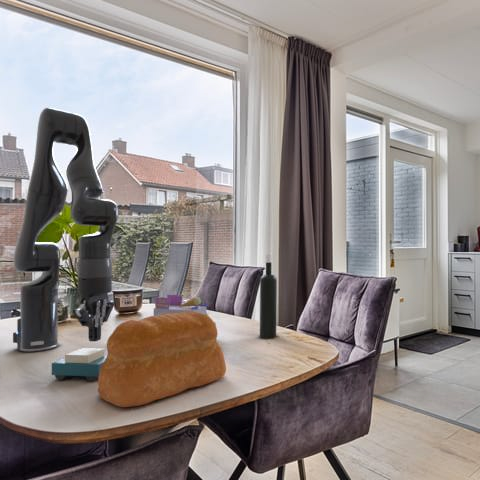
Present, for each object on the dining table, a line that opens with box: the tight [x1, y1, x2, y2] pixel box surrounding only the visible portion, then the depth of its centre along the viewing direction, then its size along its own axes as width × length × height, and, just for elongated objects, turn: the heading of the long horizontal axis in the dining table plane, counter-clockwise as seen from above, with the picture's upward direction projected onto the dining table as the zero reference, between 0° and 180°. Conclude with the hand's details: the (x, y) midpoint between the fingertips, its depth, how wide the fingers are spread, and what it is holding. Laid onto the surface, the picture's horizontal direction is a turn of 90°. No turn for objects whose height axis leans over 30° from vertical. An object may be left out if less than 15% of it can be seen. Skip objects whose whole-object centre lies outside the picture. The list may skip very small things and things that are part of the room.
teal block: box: [51, 347, 107, 382], centre depth 104 cm, size 12×6×7 cm
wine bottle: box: [259, 252, 278, 340], centre depth 146 cm, size 6×6×30 cm
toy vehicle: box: [153, 294, 217, 326], centre depth 140 cm, size 9×20×15 cm, turn 78°
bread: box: [97, 311, 227, 408], centre depth 97 cm, size 16×26×17 cm, turn 144°
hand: (94, 340), depth 107 cm, fingers closed
